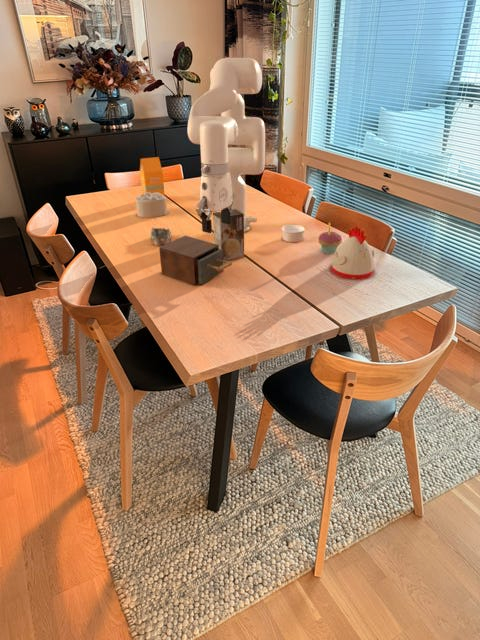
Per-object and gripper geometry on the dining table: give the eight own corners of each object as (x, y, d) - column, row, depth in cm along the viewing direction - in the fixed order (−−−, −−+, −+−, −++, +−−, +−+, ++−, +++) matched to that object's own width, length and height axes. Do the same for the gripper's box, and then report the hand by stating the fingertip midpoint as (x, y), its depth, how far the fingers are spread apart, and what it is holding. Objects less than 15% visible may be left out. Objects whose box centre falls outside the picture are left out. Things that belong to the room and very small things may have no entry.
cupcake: (335, 257, 163) (338, 225, 157) (313, 252, 167) (315, 220, 161) (343, 249, 170) (347, 218, 163) (322, 244, 173) (325, 214, 167)
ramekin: (276, 239, 179) (277, 228, 176) (290, 233, 184) (291, 222, 182) (294, 245, 173) (295, 234, 171) (308, 238, 179) (309, 227, 177)
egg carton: (171, 245, 174) (170, 235, 172) (151, 246, 173) (150, 236, 171) (171, 234, 183) (170, 225, 181) (152, 235, 182) (151, 226, 180)
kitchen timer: (346, 282, 147) (352, 238, 139) (323, 265, 158) (327, 223, 150) (381, 274, 152) (389, 231, 144) (356, 259, 162) (362, 218, 154)
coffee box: (236, 250, 169) (236, 208, 161) (244, 257, 164) (244, 213, 156) (214, 255, 165) (212, 212, 157) (221, 262, 161) (220, 217, 152)
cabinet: (219, 271, 154) (218, 244, 149) (195, 285, 146) (193, 257, 140) (186, 261, 161) (185, 235, 156) (161, 274, 153) (159, 247, 148)
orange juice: (143, 199, 223) (138, 157, 212) (160, 197, 226) (156, 155, 216) (147, 204, 217) (142, 160, 206) (165, 201, 220) (161, 158, 209)
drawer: (237, 275, 149) (236, 253, 145) (215, 289, 142) (214, 265, 138) (192, 261, 159) (191, 240, 155) (170, 273, 151) (168, 251, 147)
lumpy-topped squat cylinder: (169, 214, 204) (168, 194, 200) (142, 219, 199) (139, 199, 194) (160, 207, 212) (159, 189, 207) (133, 212, 206) (131, 193, 202)
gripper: (205, 177, 121) (208, 239, 130) (243, 164, 133) (243, 222, 142) (184, 173, 125) (188, 233, 134) (223, 161, 137) (224, 217, 146)
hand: (216, 227), depth 138 cm, fingers open, 8 cm apart
